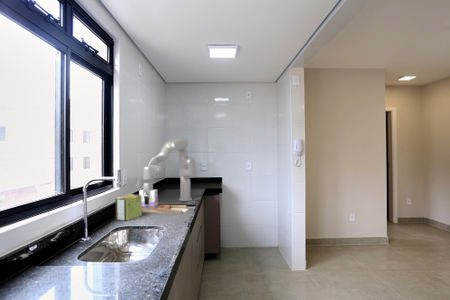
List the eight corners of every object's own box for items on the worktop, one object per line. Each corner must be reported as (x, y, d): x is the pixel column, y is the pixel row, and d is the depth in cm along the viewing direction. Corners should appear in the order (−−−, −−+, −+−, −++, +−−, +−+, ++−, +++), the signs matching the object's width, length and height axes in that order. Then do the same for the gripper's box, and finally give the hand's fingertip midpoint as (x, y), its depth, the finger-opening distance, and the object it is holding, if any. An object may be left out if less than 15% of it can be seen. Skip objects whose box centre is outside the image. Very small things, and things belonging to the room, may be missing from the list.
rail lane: (143, 207, 218) (143, 204, 218) (186, 208, 214) (186, 205, 214) (134, 211, 203) (134, 208, 203) (181, 213, 199) (181, 209, 199)
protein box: (142, 215, 192) (141, 195, 192) (126, 221, 178) (125, 199, 178) (131, 214, 197) (131, 194, 197) (115, 219, 183) (115, 197, 183)
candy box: (157, 209, 212) (157, 189, 212) (155, 210, 206) (155, 190, 206) (141, 208, 213) (141, 189, 213) (138, 210, 208) (138, 190, 207)
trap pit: (162, 208, 214) (162, 204, 214) (170, 208, 213) (170, 205, 213) (157, 211, 203) (157, 208, 203) (165, 212, 202) (165, 208, 202)
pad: (171, 208, 213) (171, 208, 213) (188, 209, 211) (188, 208, 211) (166, 212, 202) (166, 211, 202) (185, 212, 201) (185, 212, 201)
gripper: (148, 179, 218) (148, 200, 219) (139, 182, 201) (139, 205, 202) (156, 179, 218) (156, 200, 218) (148, 182, 200) (148, 205, 201)
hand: (148, 202), depth 210 cm, fingers open, 6 cm apart
